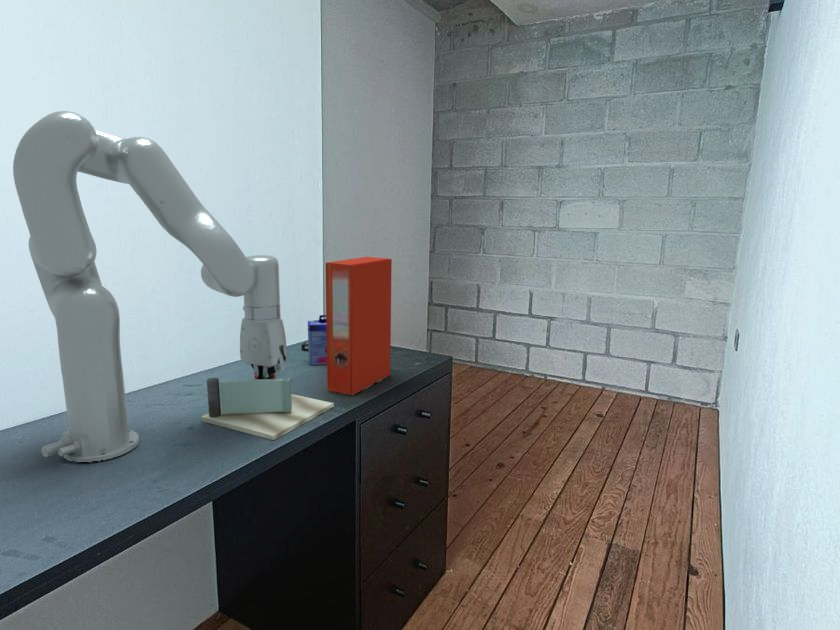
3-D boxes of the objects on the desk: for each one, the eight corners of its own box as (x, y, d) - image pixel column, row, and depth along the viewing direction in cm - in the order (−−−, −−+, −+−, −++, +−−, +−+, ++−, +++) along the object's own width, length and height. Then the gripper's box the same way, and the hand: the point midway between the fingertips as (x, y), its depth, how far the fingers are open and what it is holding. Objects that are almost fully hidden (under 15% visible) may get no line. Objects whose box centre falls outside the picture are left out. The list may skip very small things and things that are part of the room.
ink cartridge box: (309, 366, 155) (308, 316, 152) (307, 360, 160) (306, 312, 157) (344, 363, 157) (343, 314, 154) (341, 358, 163) (340, 311, 160)
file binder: (391, 377, 146) (391, 258, 139) (354, 396, 131) (352, 264, 124) (366, 372, 150) (365, 256, 143) (327, 390, 135) (324, 262, 128)
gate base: (273, 440, 106) (271, 397, 105) (201, 421, 115) (198, 380, 113) (333, 407, 124) (333, 369, 122) (266, 392, 133) (265, 357, 131)
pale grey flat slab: (221, 414, 115) (219, 383, 114) (223, 411, 117) (221, 380, 115) (291, 411, 117) (289, 380, 116) (291, 408, 119) (290, 377, 118)
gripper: (224, 311, 118) (229, 391, 122) (276, 319, 111) (279, 404, 115) (250, 306, 125) (253, 382, 128) (300, 313, 118) (303, 393, 121)
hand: (266, 392), depth 122 cm, fingers closed
